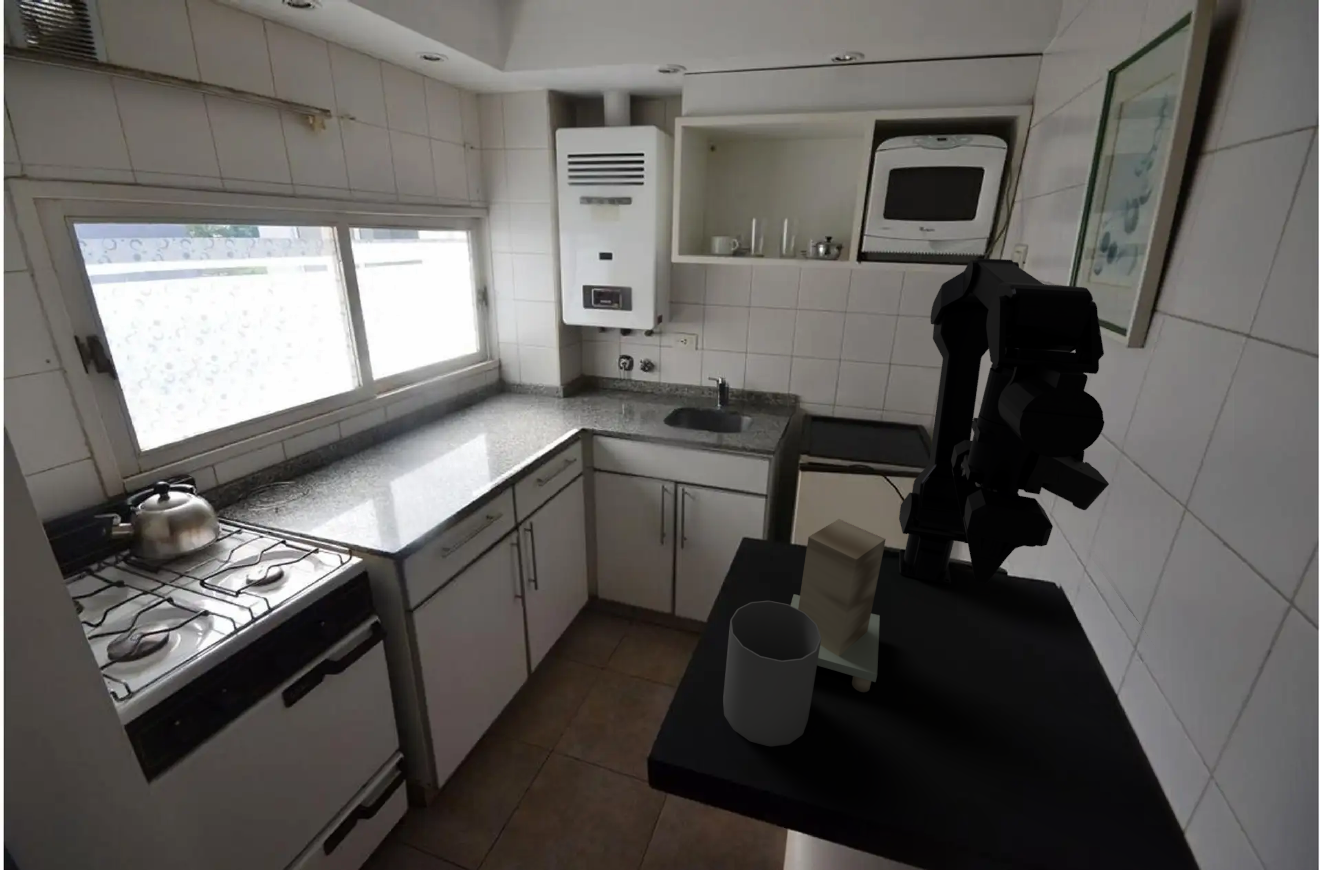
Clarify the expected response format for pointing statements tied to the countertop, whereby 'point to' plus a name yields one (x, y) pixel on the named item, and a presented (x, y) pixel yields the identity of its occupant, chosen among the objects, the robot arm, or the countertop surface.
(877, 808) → the countertop surface
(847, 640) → the beech block
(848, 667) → the peg shelf
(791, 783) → the countertop surface
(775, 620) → the cup
